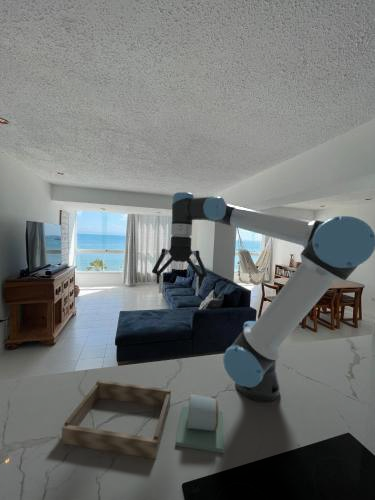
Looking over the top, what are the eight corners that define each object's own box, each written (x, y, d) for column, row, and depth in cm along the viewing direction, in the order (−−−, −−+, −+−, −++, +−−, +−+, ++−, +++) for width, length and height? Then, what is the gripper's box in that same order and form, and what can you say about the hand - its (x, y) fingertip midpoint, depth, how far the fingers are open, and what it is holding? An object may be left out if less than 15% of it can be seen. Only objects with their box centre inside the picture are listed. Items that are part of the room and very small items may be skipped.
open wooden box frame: (170, 404, 68) (170, 389, 68) (156, 458, 51) (156, 438, 51) (97, 395, 71) (97, 380, 71) (61, 443, 54) (62, 423, 54)
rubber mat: (221, 414, 66) (222, 411, 66) (223, 453, 54) (224, 449, 54) (182, 409, 67) (182, 406, 67) (175, 445, 55) (175, 441, 55)
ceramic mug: (218, 439, 56) (219, 409, 56) (186, 435, 57) (187, 407, 56) (215, 408, 67) (216, 383, 67) (188, 405, 67) (189, 381, 67)
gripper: (145, 234, 78) (142, 293, 79) (215, 237, 75) (212, 299, 76) (150, 235, 85) (148, 289, 86) (215, 238, 82) (212, 293, 83)
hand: (178, 293), depth 81 cm, fingers open, 13 cm apart
